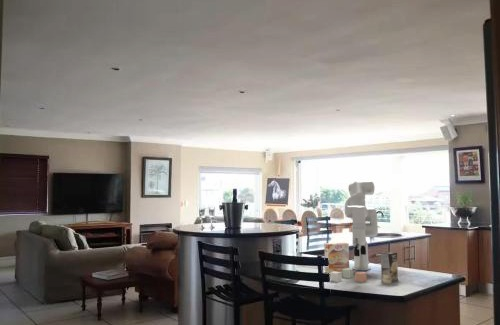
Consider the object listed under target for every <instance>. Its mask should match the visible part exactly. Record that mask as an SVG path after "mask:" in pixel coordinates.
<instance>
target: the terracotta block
mask: <svg viewBox="0 0 500 325" xmlns="http://www.w3.org/2000/svg"><path fill="white" fill-rule="evenodd" d="M354 276H355V278H354V279H355V280H354V281H355V282H357V283H358V282H360V283H365V282H366V281H368V280H367V272H366V271H365V272H364V271H357V272H355V275H354Z"/></svg>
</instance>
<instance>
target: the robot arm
mask: <svg viewBox="0 0 500 325" xmlns="http://www.w3.org/2000/svg"><path fill="white" fill-rule="evenodd" d="M347 187H348V192H349V195H350V196H349V197H348V198H347V199H346V201H345V203H344V215H345V217H346V218H348V219H352V226H351V233H352V246H353V261H354V264H353V265H354V266H352V267H351V269H353V270H357V271H370V270H371V269H372V268H371V266H369V265H370V262H369V246H368V245H369V244H368V242H367V239H366V238H376V237H377V236H378V234H379V233H378V232H379V230H378V229H379V228H378V226H379V225H378V213H377V209H376V208H374V207H367V206H366V196H373V195H374V194H375V189H376V188H375V183H374V182H373V181H372V180H357V181H354V182H353V183H350V184H349V185H348V186H347Z"/></svg>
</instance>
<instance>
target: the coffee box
mask: <svg viewBox="0 0 500 325" xmlns="http://www.w3.org/2000/svg"><path fill="white" fill-rule="evenodd" d="M380 266H381V268H380V269H381V271H380V272H381V275H380V276H381V277H382V274H391V282H393V281H396V280H398V279H399V273H398V272H399V270H398V268H399V266H398V252H394V251H387V252H380Z"/></svg>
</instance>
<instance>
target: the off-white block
mask: <svg viewBox="0 0 500 325" xmlns="http://www.w3.org/2000/svg"><path fill="white" fill-rule="evenodd" d="M329 276H330V278H329V279H330V282H337V283H339V282H341V281H343V280H342V279H343V275H342V273H341V272H335V271H334V272H331V273H330V274H329Z"/></svg>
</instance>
